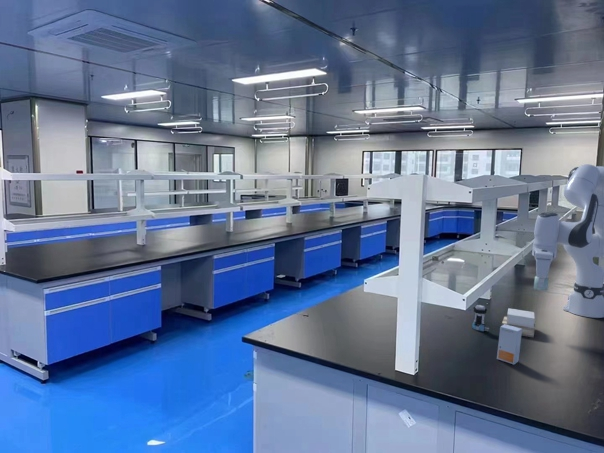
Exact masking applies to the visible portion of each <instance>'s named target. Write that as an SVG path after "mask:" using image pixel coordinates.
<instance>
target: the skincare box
mask: <svg viewBox="0 0 604 453" xmlns="http://www.w3.org/2000/svg"><path fill="white" fill-rule="evenodd" d="M521 334H522V329H521V328H517V327H514V326H509V325H506V324H504V325H502V324H501V326H500V328H499V335H498V345H497V354H496V360H500V361H501V362H505V363H508V364H512V365H513V366H514V365H516V364H517V363H518V362H519V360H520V359H519V358H520V350H521V342H522V335H521Z"/></svg>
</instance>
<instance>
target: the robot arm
mask: <svg viewBox="0 0 604 453" xmlns="http://www.w3.org/2000/svg"><path fill="white" fill-rule="evenodd" d="M563 195H564V198H565V199H566V200H567V202H568V203H570V204H571V205H573V206H576V207H578V208H581V210H582V209H583V211H582V215H581V219H580V220H579V221H576V222H573V221H563V220H561V219H560V216H559V214H558V213H556V212H541V213H539V214H537V217H536V220H535V224H534V229H533V235H534V239H533V242H532V252H531V255H532V256H533V257H534V260H535V268H536V276H537V277H539V284H538V286H539V287H543V285H544V279H545V278H547V277H548V275H549V272H550V268H551V267H550V266H551V263H552V262H553V260H554V259H556V258H557V254H558V252H557V251H558V245H562V246H563V249H564V251H565V252H566V253H567V254H568V255H569V256H570V257H571V258H572V260H573V262H574V263H575V267H576V276H575V277H576V279H575V282H574V284H573V292H571V293H570V294H569V295H567V304H565V306H564V307H563V308H562V310H563V311H566V312H569V313H570V314H574V315H577V316H579V317H585V318H586V317H587V318H594V319H600V318H604V296H603V295H604V268H602V267H601V266H599V265H598V264H596V263H594V259H593V258H604V166H600V165H597V166H595V165H593V164H582V165H580V166H576V167H574V168H572V169H571V170H570V171H569V174H568V177H567V182H566V185H565V186H564V189H563ZM593 232H594V233H593Z"/></svg>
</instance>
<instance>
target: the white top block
mask: <svg viewBox="0 0 604 453" xmlns="http://www.w3.org/2000/svg"><path fill="white" fill-rule="evenodd" d="M506 316H507V324H512V325H518V326H524V327H530V328H534V321H535V320H536V319H535V318H536V317H535V311H530V310H529V311H528V310H523V309H516V308H510V307H509V308H507V313H506Z"/></svg>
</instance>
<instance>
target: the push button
mask: <svg viewBox="0 0 604 453" xmlns="http://www.w3.org/2000/svg"><path fill="white" fill-rule="evenodd" d="M487 311H488V308H486V306H485V305H481V304H476V305H475V306H474V307H473V312H474V320H473V322H472V325H471V327H472V330H475V331H479V332H484V331H487V332H488V331H489V329H490V328H489V327H486V323H485V315H486V314H487Z"/></svg>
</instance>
